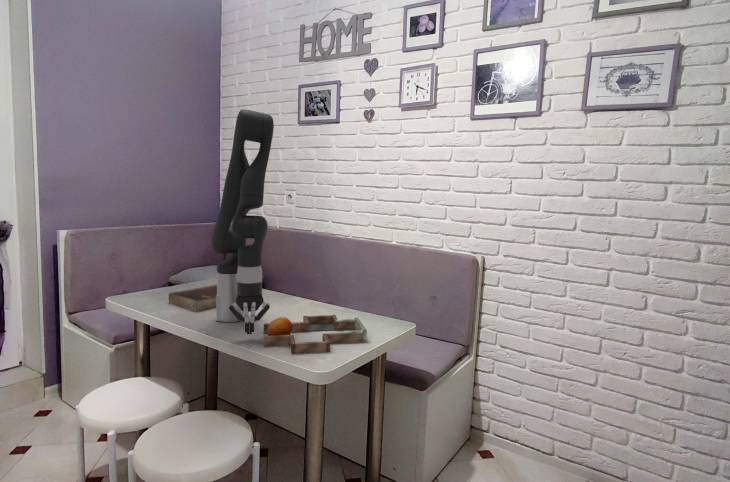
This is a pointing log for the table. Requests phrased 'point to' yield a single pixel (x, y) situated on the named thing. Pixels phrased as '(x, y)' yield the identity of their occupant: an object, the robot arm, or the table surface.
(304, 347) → the trap box
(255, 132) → the robot arm
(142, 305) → the table surface
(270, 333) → the fruit
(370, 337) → the table surface
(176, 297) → the latched wooden chest
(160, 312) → the table surface
